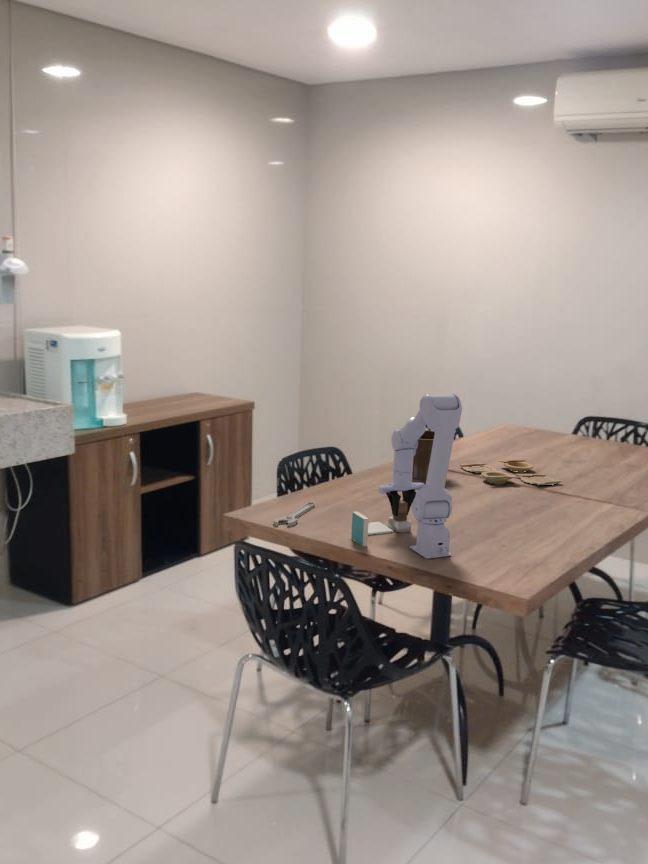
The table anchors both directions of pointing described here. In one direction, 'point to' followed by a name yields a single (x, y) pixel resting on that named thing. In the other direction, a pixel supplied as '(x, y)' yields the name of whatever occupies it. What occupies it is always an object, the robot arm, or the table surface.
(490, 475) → the tableware set
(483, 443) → the table surface
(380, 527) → the mat
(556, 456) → the table surface
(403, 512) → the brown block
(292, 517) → the adjustable wrench
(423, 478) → the plant pot
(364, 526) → the tile
